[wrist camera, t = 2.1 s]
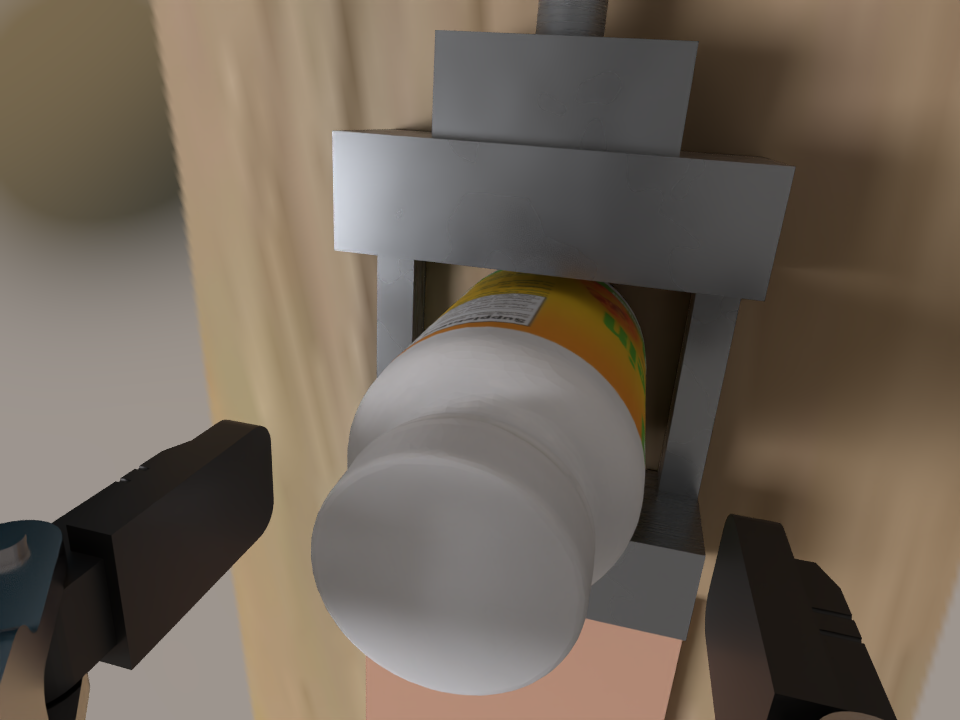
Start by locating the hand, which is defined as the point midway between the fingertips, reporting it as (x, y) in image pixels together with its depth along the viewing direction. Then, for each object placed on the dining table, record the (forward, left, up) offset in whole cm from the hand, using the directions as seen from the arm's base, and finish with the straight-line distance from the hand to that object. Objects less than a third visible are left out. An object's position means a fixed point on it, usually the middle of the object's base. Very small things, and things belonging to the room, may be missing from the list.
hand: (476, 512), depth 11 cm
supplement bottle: (0, 0, -8) cm, 8 cm away
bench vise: (-4, 0, -7) cm, 8 cm away
